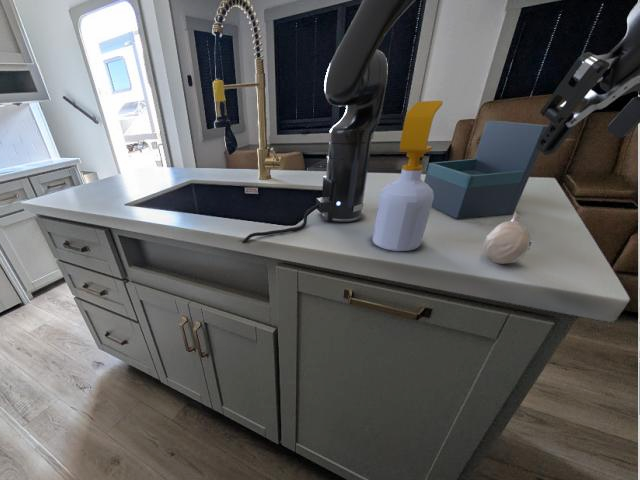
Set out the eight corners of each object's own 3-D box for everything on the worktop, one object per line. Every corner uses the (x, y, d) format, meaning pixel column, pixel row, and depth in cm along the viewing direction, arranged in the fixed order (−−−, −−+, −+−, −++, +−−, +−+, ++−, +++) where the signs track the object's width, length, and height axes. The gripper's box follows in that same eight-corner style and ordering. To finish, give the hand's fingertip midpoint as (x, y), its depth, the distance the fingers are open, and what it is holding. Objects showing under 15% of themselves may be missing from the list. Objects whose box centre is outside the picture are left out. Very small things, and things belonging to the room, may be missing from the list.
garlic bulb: (530, 263, 53) (553, 217, 49) (507, 272, 51) (528, 226, 47) (490, 249, 58) (507, 207, 54) (467, 258, 56) (483, 215, 52)
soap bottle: (426, 239, 64) (465, 98, 50) (411, 256, 58) (451, 102, 45) (382, 231, 69) (407, 101, 55) (365, 245, 64) (388, 105, 50)
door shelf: (456, 219, 72) (485, 131, 62) (419, 200, 85) (438, 125, 75) (513, 213, 72) (551, 125, 62) (467, 195, 85) (493, 120, 75)
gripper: (784, -86, 26) (614, 111, 40) (608, -38, 27) (501, 139, 40) (898, -66, 22) (665, 145, 36) (688, -11, 23) (540, 175, 36)
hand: (579, 142), depth 38 cm, fingers open, 8 cm apart
